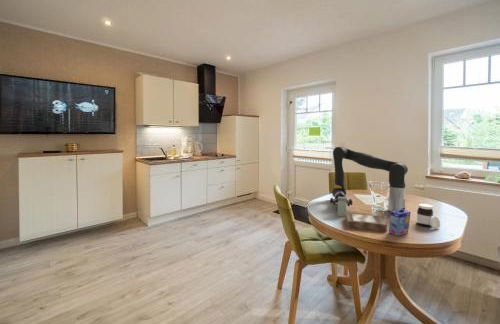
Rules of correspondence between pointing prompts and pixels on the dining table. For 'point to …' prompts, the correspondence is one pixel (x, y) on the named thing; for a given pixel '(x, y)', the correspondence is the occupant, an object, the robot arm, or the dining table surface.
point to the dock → (366, 222)
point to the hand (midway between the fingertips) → (341, 204)
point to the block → (342, 206)
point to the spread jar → (427, 216)
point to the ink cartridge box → (399, 222)
